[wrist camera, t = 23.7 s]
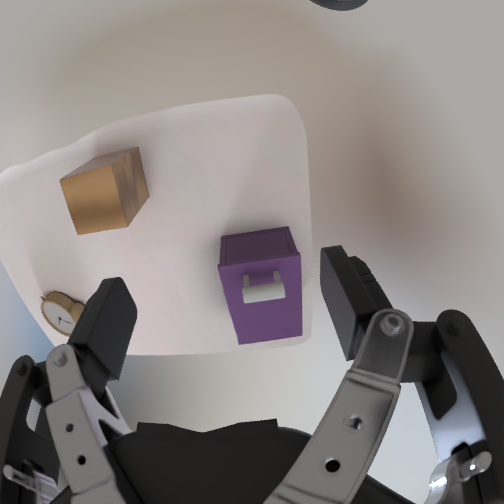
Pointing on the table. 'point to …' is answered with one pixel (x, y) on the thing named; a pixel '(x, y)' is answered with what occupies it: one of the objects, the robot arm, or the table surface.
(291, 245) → the box
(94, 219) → the stand
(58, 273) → the table surface
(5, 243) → the table surface
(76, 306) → the alarm clock
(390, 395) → the robot arm
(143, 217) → the table surface
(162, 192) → the table surface
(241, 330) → the lid
